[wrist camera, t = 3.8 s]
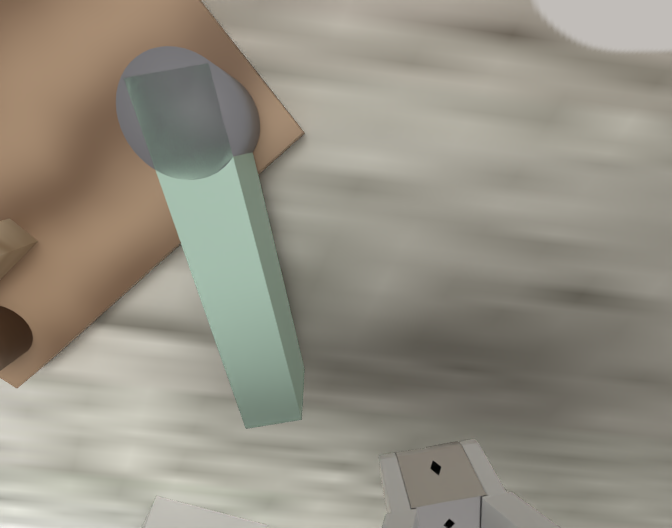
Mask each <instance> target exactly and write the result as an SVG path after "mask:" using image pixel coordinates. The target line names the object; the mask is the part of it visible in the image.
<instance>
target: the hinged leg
mask: <svg viewBox="0 0 672 528" xmlns="http://www.w3.org/2000/svg"><path fill="white" fill-rule="evenodd" d="M116 111H117V117H118V121H119V124H120V128H121V130H122V132H123V135H124V137H125V138H126V140H127V142H128V144H129V145H130V146H131V148H132V149H133V151H134V152H135V153H136V154H137V155H138V156H139V157H140V158H141V159H142V160H143V161H144V162H145V163H146V164H147V165H149V166H150V167H152V168H153V169H155V170H156V173H157V176H158V179H159V182H160V185H161V187H162V190H163V193H164V196H165V199H166V202H167V205H168V207H169V210H170V213H171V216H172V219H173V222H174V225H175V227H176V230H177V233H178V236H179V239H180V242H181V245H182V247H183V250H184V253H185V256H186V259H187V262H188V265H189V268H190V270H191V273H192V276H193V279H194V282H195V285H196V288H197V290H198V293H199V296H200V299H201V302H202V305H203V308H204V310H205V313H206V316H207V319H208V322H209V325H210V328H211V330H212V333H213V336H214V339H215V342H216V345H217V348H218V350H219V353H220V356H221V359H222V362H223V365H224V368H225V370H226V373H227V376H228V379H229V382H230V385H231V388H232V391H233V393H234V396H235V399H236V402H237V405H238V408H239V411H240V413H241V416H242V419H243V422H244V425H245V428H246V429H247V428H254V427H260V426H266V425H272V424H278V423H284V422H291V421H297V420H302V406H303V389H304V372H305V369H304V365H303V361H302V357H301V352H300V348H299V344H298V340H297V336H296V331H295V327H294V323H293V319H292V315H291V310H290V306H289V302H288V298H287V294H286V289H285V285H284V281H283V277H282V273H281V269H280V264H279V260H278V256H277V252H276V248H275V243H274V239H273V235H272V231H271V227H270V222H269V218H268V214H267V210H266V206H265V202H264V197H263V193H262V189H261V185H260V181H259V176H258V172H257V168H256V164H255V160H254V155H253V151H254V149H255V147H256V145H257V142H258V139H259V135H260V119H259V113H258V110H257V107H256V104H255V102H254V100H253V98H252V97H251V95H250V94H249V92H248V91H247V89H246V88H245V87H244V86H243V85H242V84H241V83H240V82H238V81H237V80H236V79H235V78H233V77H232V76H230V75H229V74H227V73H226V72H225V71H223V70H222V69H220V68H219V67H218V66H216V65H215V64H213V63H212V62H210V61H209V60H207V59H206V58H205V57H203V56H201V55H199V54H197V53H195V52H193V51H191V50H188V49H185V48H180V47H173V46H163V47H157V48H153V49H149V50H147V51H145V52H143V53H141V54H140V55H138V56H137V57H135V58H134V59H133V60H132V61H131V62H130V63H129V64H128V66H127V67H126V68H125V70H124V72H123V74H122V75H121V78H120V80H119V83H118V87H117V92H116Z"/></svg>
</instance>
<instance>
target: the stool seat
mask: <svg viewBox="0 0 672 528" xmlns="http://www.w3.org/2000/svg"><path fill="white" fill-rule="evenodd" d="M163 46H173V47H180V48H185V49H188V50H191V51H193V52H195V53H197V54H199V55H201V56H203V57H205V58H206V59H207V60H209V61H210V62H212V63H213V64H215V65H216V66H218V67H219V68H220V69H222V70H223V71H225V72H226V73H227V74H229V75H230V76H232V77H233V78H235V79H236V80H237V81H238V82H240V83H241V84H242V85H243V86H244V87H245V88H246V89H247V91H248V92H249V94H250V95H251V97H252V98H253V100H254V102H255V104H256V107H257V110H258V113H259V119H260V135H259V139H258V142H257V145H256V147H255V149H254V151H253V155H254V160H255V164H256V168H257V172H258V175H259V174H260V173H261V172H262V171H263V170H264V169H265V168H266V167H267V166H269V165H270V164H271V163H272V162H273V161H274V160H275V159H276V158H278V157H279V156H280V155H281V154H282V153H283V152H284V151H285V150H287V149H288V148H289V147H290V146H291V145H292V144H293V143H294V142H295V141H297V140H298V139H299V138H300V137H301V136H302V135H303V134H304V131H303V130H302V129H301V128H300V126H299V125H298V124H297V122H296V121H295V120H294V119H293V117H292V116H291V115H290V114H289V112H288V111H287V110H286V108H285V107H284V106H283V105H282V103H281V102H280V101H279V100H278V98H277V97H276V96H275V94H274V93H273V92H272V91H271V89H270V88H269V87H268V86H267V84H266V83H265V82H264V80H263V79H262V78H261V77H260V75H259V74H258V73H257V72H256V70H255V69H254V68H253V66H252V65H251V64H250V63H249V61H248V60H247V59H246V58H245V56H244V55H243V54H242V52H241V51H240V50H239V49H238V47H237V46H236V45H235V44H234V42H233V41H232V40H231V38H230V37H229V36H228V35H227V33H226V32H225V31H224V30H223V28H222V27H221V26H220V24H219V23H218V22H217V21H216V19H215V18H214V17H213V16H212V14H211V13H210V12H209V10H208V9H207V8H206V7H205V5H204V4H203V3H202V2H201V0H0V378H1V379H3V380H4V381H6V382H8V383H9V384H11V385H12V386H14V387H15V388H18V387H19V386H21V385H22V384H23V383H24V382H25V381H27V380H28V379H29V378H30V377H31V376H33V375H34V374H35V373H36V372H37V371H39V370H40V369H41V368H42V367H43V366H45V365H46V364H47V363H48V362H49V361H50V360H51V359H53V358H54V357H55V356H56V355H57V354H58V353H59V352H60V351H62V350H63V349H64V348H65V347H66V346H67V345H68V344H69V343H70V342H72V341H73V340H74V339H75V338H76V337H77V336H78V335H79V334H81V333H82V332H83V331H84V330H85V329H86V328H87V327H88V326H90V325H91V324H92V323H93V322H94V321H95V320H96V319H97V318H98V317H100V316H101V315H102V314H103V313H104V312H105V311H106V310H107V309H109V308H110V307H111V306H112V305H113V304H114V303H115V302H116V301H117V300H119V299H120V298H121V297H122V296H123V295H124V294H125V293H126V292H128V291H129V290H130V289H131V288H132V287H133V286H134V285H135V284H137V283H138V282H139V281H140V280H141V279H142V278H143V277H144V276H145V275H147V274H148V273H149V272H150V271H151V270H152V269H153V268H154V267H156V266H157V265H158V264H159V263H160V262H161V261H162V260H163V259H165V258H166V257H167V256H168V255H169V254H170V253H171V252H172V251H173V250H175V249H176V248H177V247H178V246H179V245H180V244H181V242H180V239H179V236H178V233H177V230H176V227H175V225H174V222H173V219H172V216H171V213H170V210H169V207H168V205H167V202H166V199H165V196H164V193H163V190H162V187H161V185H160V182H159V179H158V176H157V173H156V170H155V169H153V168H152V167H150V166H149V165H147V164H146V163H145V162H144V161H143V160H142V159H141V158H140V157H139V156H138V155H137V154H136V153H135V152H134V151H133V149H132V148H131V146H130V145H129V144H128V142H127V140H126V138H125V137H124V135H123V132H122V130H121V128H120V124H119V121H118V117H117V111H116V92H117V87H118V83H119V80H120V78H121V75H122V74H123V72H124V70H125V68H126V67H127V66H128V64H129V63H130V62H131V61H132V60H133V59H134V58H135V57H137V56H138V55H140V54H141V53H143V52H145V51H147V50H149V49H153V48H157V47H163Z"/></svg>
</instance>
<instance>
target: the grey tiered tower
mask: <svg viewBox="0 0 672 528" xmlns="http://www.w3.org/2000/svg"><path fill="white" fill-rule="evenodd" d="M142 528H268V525H266V524H263V523H259V522H255V521H251V520H247V519H244V518H240V517H236V516H232V515H228V514H224V513H221V512H217V511H213V510H209V509H205V508H202V507H198V506H194V505H190V504H186V503H182V502H179V501H175V500H171V499H167V498H163V497H160V496H156V498H155V500H154V502H153V504H152V506H151V508H150V510H149V513H148V515H147V517H146V519H145V521H144V523H143V525H142Z"/></svg>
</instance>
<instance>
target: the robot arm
mask: <svg viewBox="0 0 672 528" xmlns="http://www.w3.org/2000/svg"><path fill="white" fill-rule="evenodd" d="M378 458H379V466H380V474H381V482H382V488H383V494H384V500H385V505H386V509H387V514H386V516H385V519H384V522H383V525H382V528H561V527H559V526H558V525H556V524H555V523H554V522H552V521H551V520H550V519H548V518H547V517H546V516H544V515H543V514H542V513H540V512H539V511H538V510H536V509H535V508H534V507H532V506H531V505H529V504H528V503H527V502H525V501H524V500H523V499H521V498H520V497H519V496H517V495H516V494H515V493H513V492H506V490H505V488H504V486H503V485H502V483H501V481H500V479H499V478H498V476H497V474H496V472H495V471H494V469H493V467H492V465H491V463H490V462H489V460H488V458H487V456H486V455H485V453H484V451H483V449H482V448H481V446H480V444H479V442H478V441H477V440H476V439H469V440H464V441H459V442H458V441H455V442H450V443H445V444H440V445H434V446H429V447H426V448H422V449H415V450H408V451H401V452H394V453H388V454H382V455H379V456H378Z"/></svg>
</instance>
